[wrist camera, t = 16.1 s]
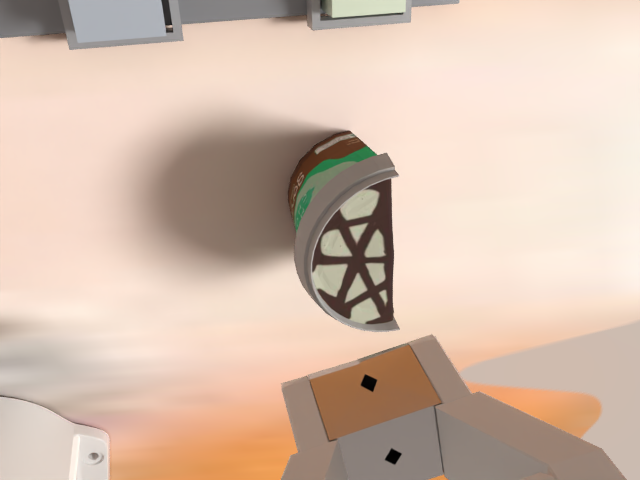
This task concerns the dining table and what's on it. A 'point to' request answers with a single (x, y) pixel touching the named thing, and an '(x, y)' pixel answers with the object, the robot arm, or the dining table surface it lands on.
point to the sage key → (362, 7)
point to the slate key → (117, 19)
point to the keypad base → (185, 17)
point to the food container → (345, 231)
